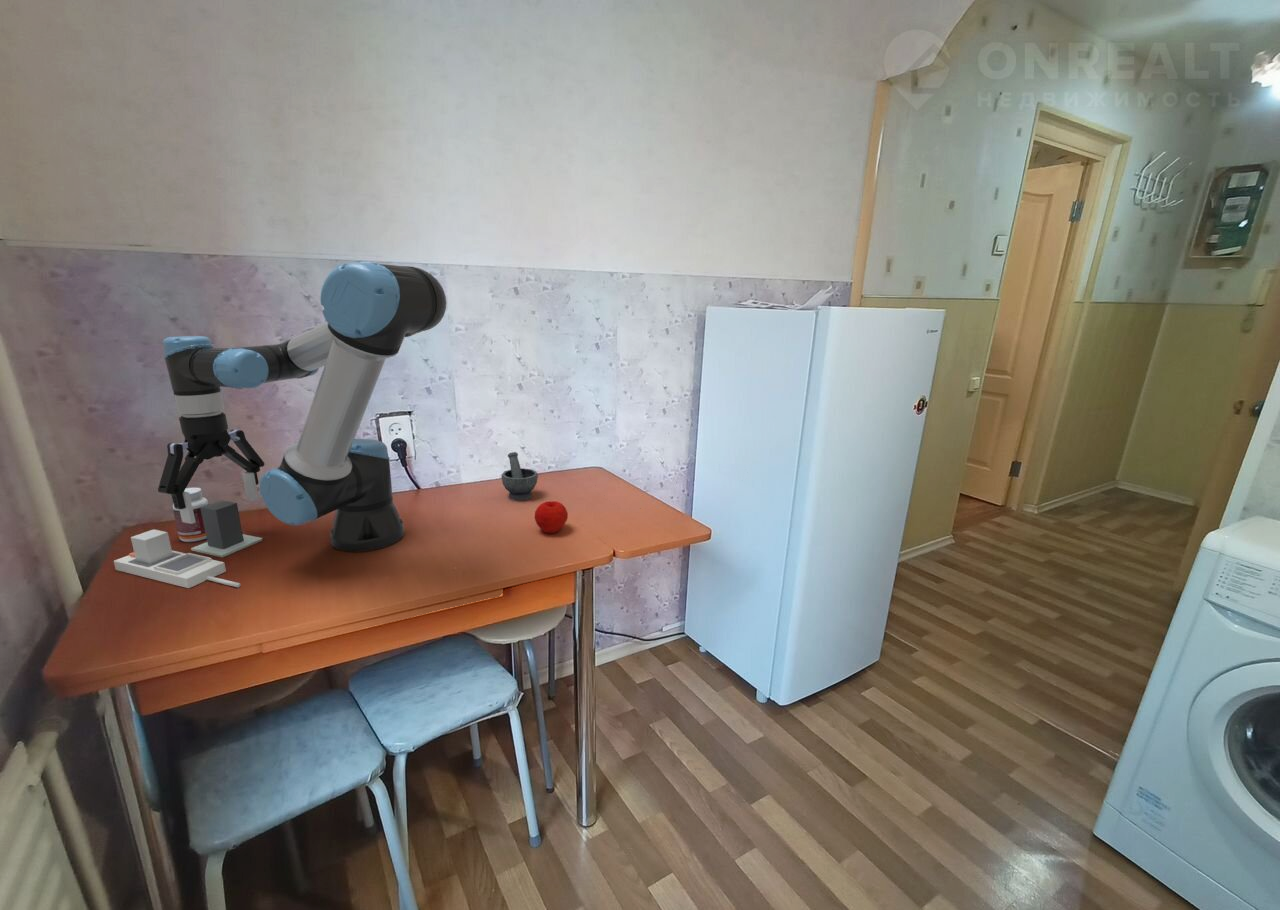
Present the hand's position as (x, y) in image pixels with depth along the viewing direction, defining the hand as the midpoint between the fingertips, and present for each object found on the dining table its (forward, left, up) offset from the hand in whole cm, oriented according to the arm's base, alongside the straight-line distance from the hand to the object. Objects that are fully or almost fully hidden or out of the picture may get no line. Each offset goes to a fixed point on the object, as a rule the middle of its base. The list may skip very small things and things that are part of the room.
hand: (222, 510), depth 117 cm
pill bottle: (+11, -1, -8) cm, 14 cm away
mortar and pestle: (-43, -51, -8) cm, 67 cm away
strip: (-5, +12, -8) cm, 15 cm away
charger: (+1, 0, -8) cm, 8 cm away
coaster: (0, 0, -8) cm, 8 cm away
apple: (-62, -33, -8) cm, 70 cm away
